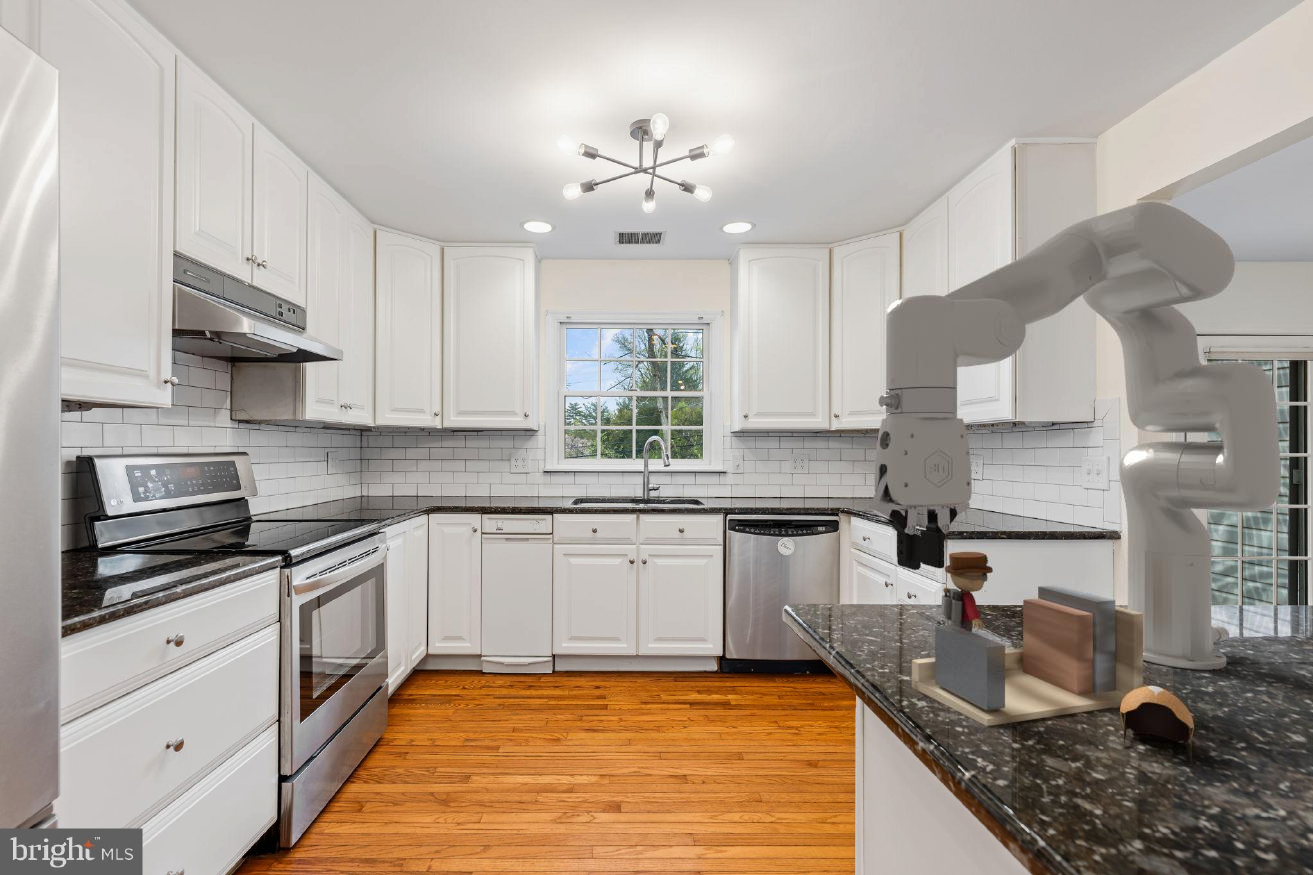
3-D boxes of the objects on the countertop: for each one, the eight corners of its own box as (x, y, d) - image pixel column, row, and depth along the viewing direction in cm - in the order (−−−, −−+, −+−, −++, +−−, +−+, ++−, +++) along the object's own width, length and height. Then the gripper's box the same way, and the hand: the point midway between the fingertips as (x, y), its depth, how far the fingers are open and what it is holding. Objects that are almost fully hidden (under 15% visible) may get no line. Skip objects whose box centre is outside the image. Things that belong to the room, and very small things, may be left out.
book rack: (1052, 669, 84) (1052, 581, 84) (1143, 705, 73) (1143, 603, 73) (911, 687, 78) (912, 591, 78) (986, 730, 66) (987, 617, 66)
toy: (1005, 670, 84) (1005, 561, 84) (952, 666, 85) (952, 559, 85) (979, 643, 95) (979, 547, 95) (932, 640, 96) (932, 545, 96)
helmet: (1195, 796, 59) (1189, 722, 64) (1199, 757, 56) (1193, 683, 61) (1119, 776, 63) (1120, 707, 68) (1119, 738, 59) (1120, 669, 64)
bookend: (951, 680, 76) (952, 624, 76) (1005, 707, 68) (1005, 645, 68) (935, 683, 75) (935, 626, 75) (986, 710, 68) (987, 647, 68)
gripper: (881, 403, 64) (880, 578, 64) (1004, 406, 69) (1003, 569, 69) (840, 406, 71) (840, 564, 71) (954, 409, 76) (954, 557, 76)
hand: (920, 565), depth 70 cm, fingers closed
